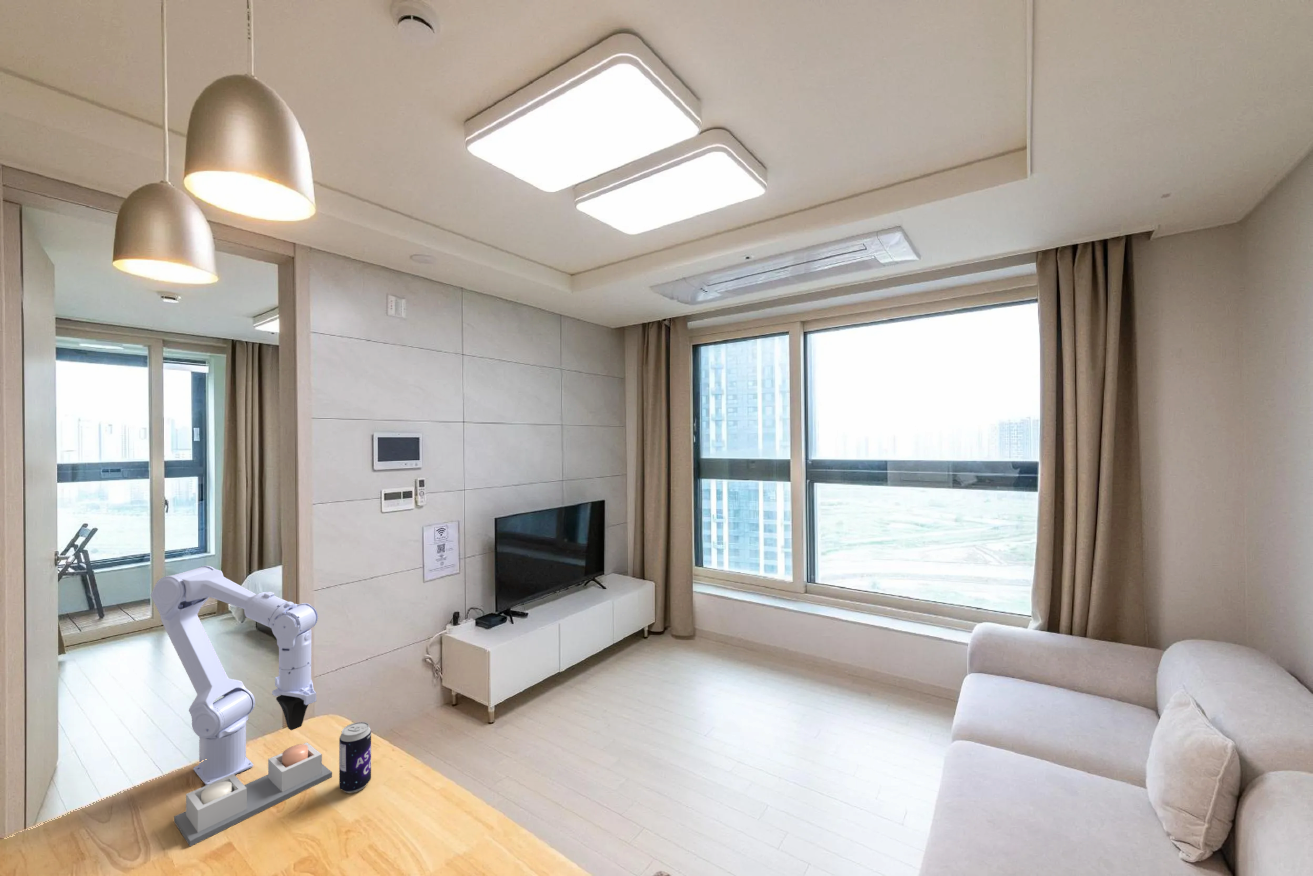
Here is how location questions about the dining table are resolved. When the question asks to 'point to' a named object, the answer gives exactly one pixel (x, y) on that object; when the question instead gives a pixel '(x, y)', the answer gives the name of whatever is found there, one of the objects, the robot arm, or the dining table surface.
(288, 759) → the terracotta plug
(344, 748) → the beverage can
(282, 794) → the plug panel
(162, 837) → the dining table surface
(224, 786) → the cream plug
